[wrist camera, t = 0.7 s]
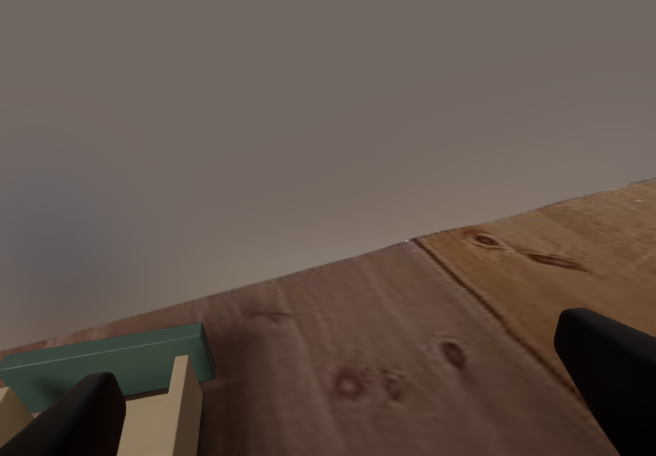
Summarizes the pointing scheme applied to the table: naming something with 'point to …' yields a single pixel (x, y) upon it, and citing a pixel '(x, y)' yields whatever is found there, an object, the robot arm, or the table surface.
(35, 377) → the drawer
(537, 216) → the table surface
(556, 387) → the table surface
